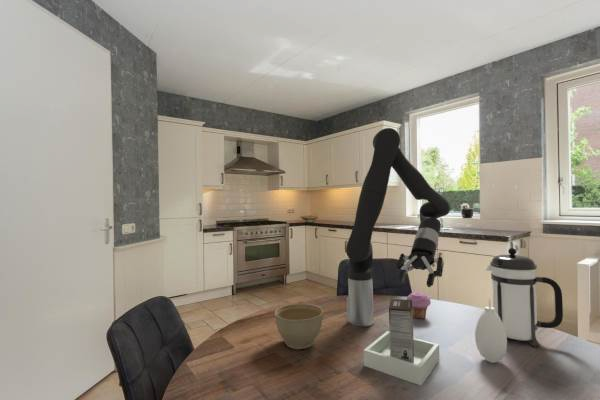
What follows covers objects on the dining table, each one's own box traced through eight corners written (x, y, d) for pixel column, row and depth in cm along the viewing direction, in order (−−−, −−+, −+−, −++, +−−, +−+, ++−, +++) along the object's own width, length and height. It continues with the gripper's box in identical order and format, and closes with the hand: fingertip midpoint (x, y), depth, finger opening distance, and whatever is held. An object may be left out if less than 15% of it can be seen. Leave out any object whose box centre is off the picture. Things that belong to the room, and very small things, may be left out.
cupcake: (406, 319, 122) (405, 294, 122) (408, 312, 130) (407, 288, 130) (431, 322, 118) (430, 296, 118) (431, 314, 126) (430, 290, 126)
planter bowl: (333, 341, 104) (332, 309, 104) (300, 360, 93) (299, 324, 93) (298, 329, 115) (297, 300, 115) (265, 344, 104) (264, 312, 104)
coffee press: (519, 353, 93) (516, 253, 94) (478, 331, 109) (476, 246, 109) (565, 345, 97) (562, 250, 97) (519, 326, 113) (516, 243, 113)
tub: (364, 365, 89) (363, 349, 89) (387, 344, 101) (387, 331, 101) (421, 385, 78) (420, 367, 78) (439, 359, 91) (438, 344, 91)
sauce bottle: (509, 370, 84) (506, 304, 84) (476, 364, 88) (473, 300, 88) (506, 357, 91) (504, 296, 91) (475, 352, 95) (473, 293, 95)
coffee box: (391, 350, 95) (390, 297, 95) (413, 352, 93) (412, 299, 93) (390, 365, 87) (388, 307, 87) (414, 368, 85) (412, 309, 85)
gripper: (402, 235, 111) (389, 274, 102) (444, 237, 101) (435, 280, 93) (408, 248, 115) (396, 286, 106) (449, 251, 105) (440, 293, 97)
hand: (414, 283), depth 99 cm, fingers open, 8 cm apart
